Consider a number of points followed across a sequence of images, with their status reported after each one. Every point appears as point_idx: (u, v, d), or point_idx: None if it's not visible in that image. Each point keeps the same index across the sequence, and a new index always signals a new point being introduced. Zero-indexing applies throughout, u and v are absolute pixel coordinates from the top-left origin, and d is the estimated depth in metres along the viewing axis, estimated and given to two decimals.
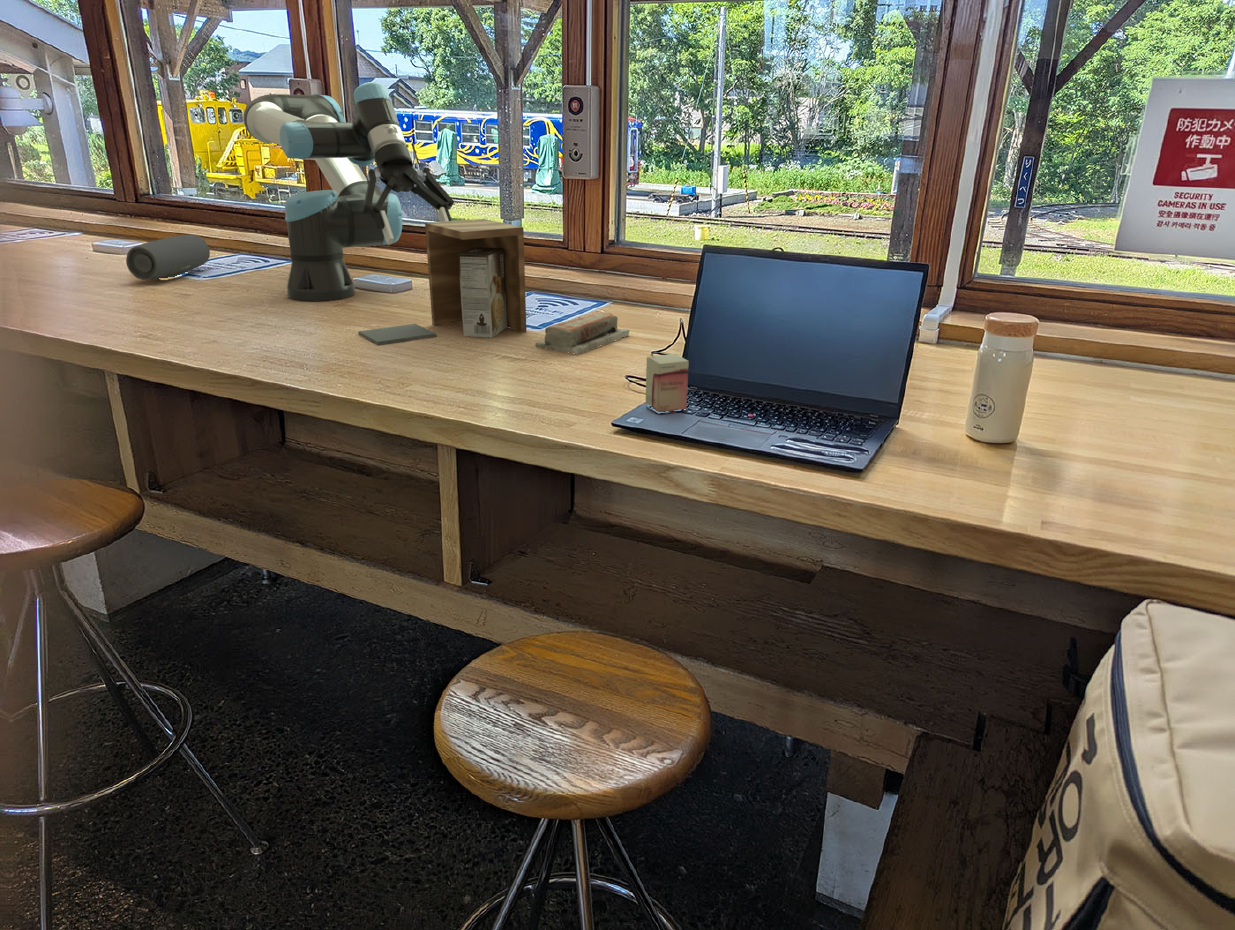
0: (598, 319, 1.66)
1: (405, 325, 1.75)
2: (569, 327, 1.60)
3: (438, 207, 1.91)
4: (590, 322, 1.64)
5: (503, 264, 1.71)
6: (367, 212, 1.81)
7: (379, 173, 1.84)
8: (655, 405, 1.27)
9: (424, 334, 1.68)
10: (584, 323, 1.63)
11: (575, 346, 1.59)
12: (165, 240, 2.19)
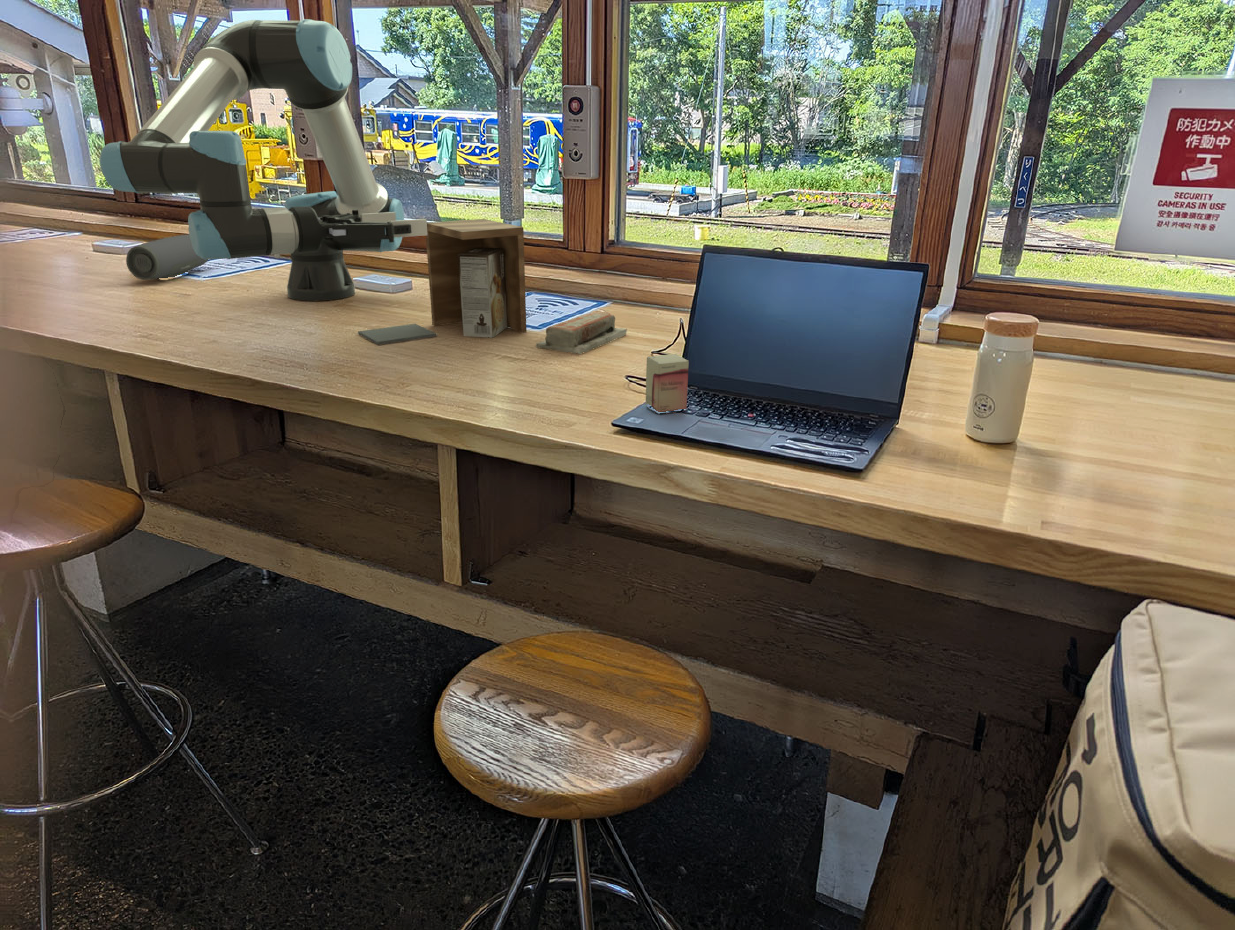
0: (597, 319, 1.66)
1: (405, 325, 1.75)
2: (570, 327, 1.60)
3: None
4: (590, 322, 1.64)
5: (503, 264, 1.71)
6: None
7: None
8: (655, 405, 1.27)
9: (424, 334, 1.68)
10: (584, 323, 1.63)
11: (577, 346, 1.59)
12: (165, 240, 2.19)
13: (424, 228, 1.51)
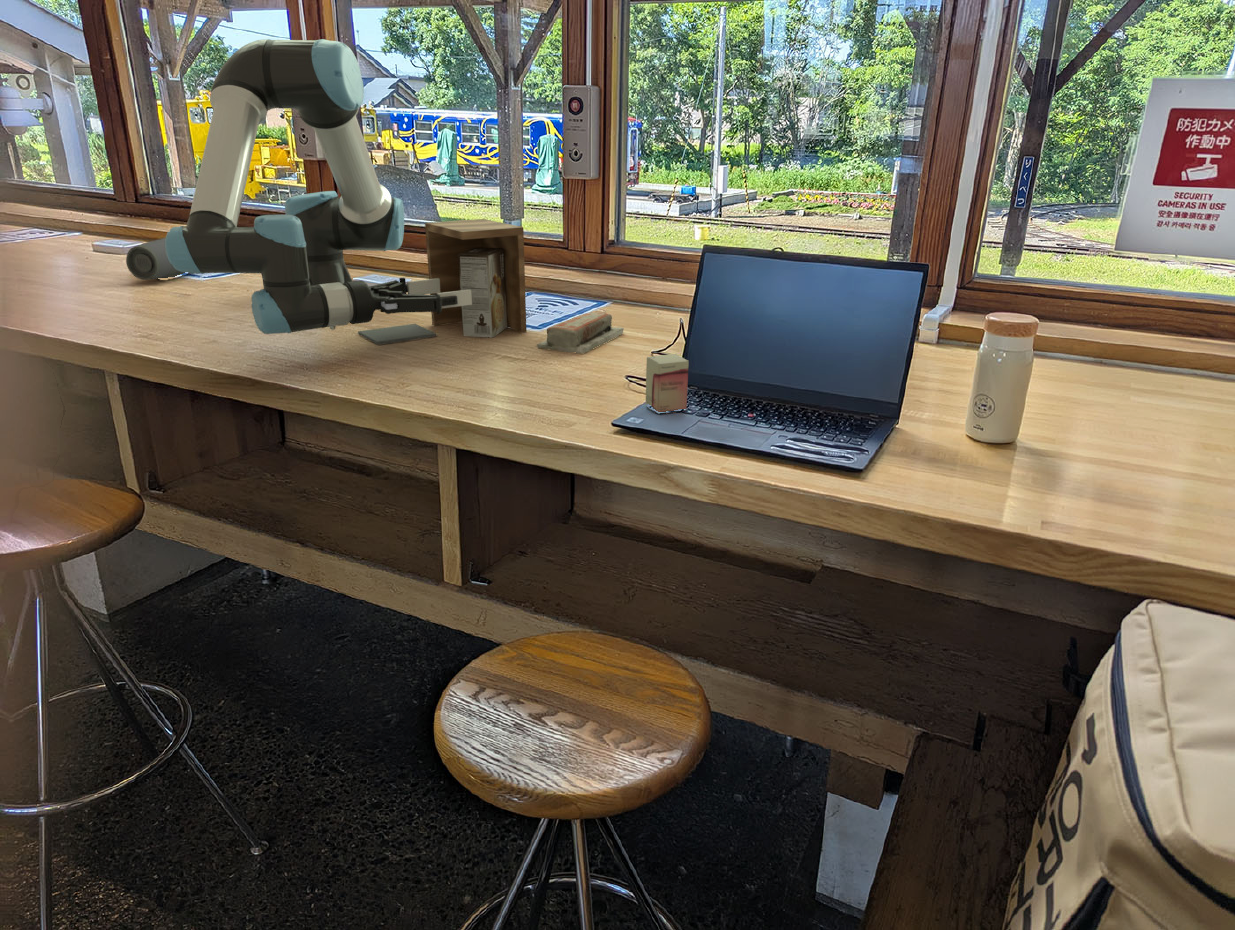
0: (596, 318, 1.67)
1: (405, 325, 1.75)
2: (571, 327, 1.60)
3: None
4: (589, 321, 1.64)
5: (503, 264, 1.71)
6: None
7: None
8: (655, 405, 1.27)
9: (424, 334, 1.68)
10: (584, 322, 1.63)
11: (579, 346, 1.59)
12: None
13: (469, 298, 1.60)
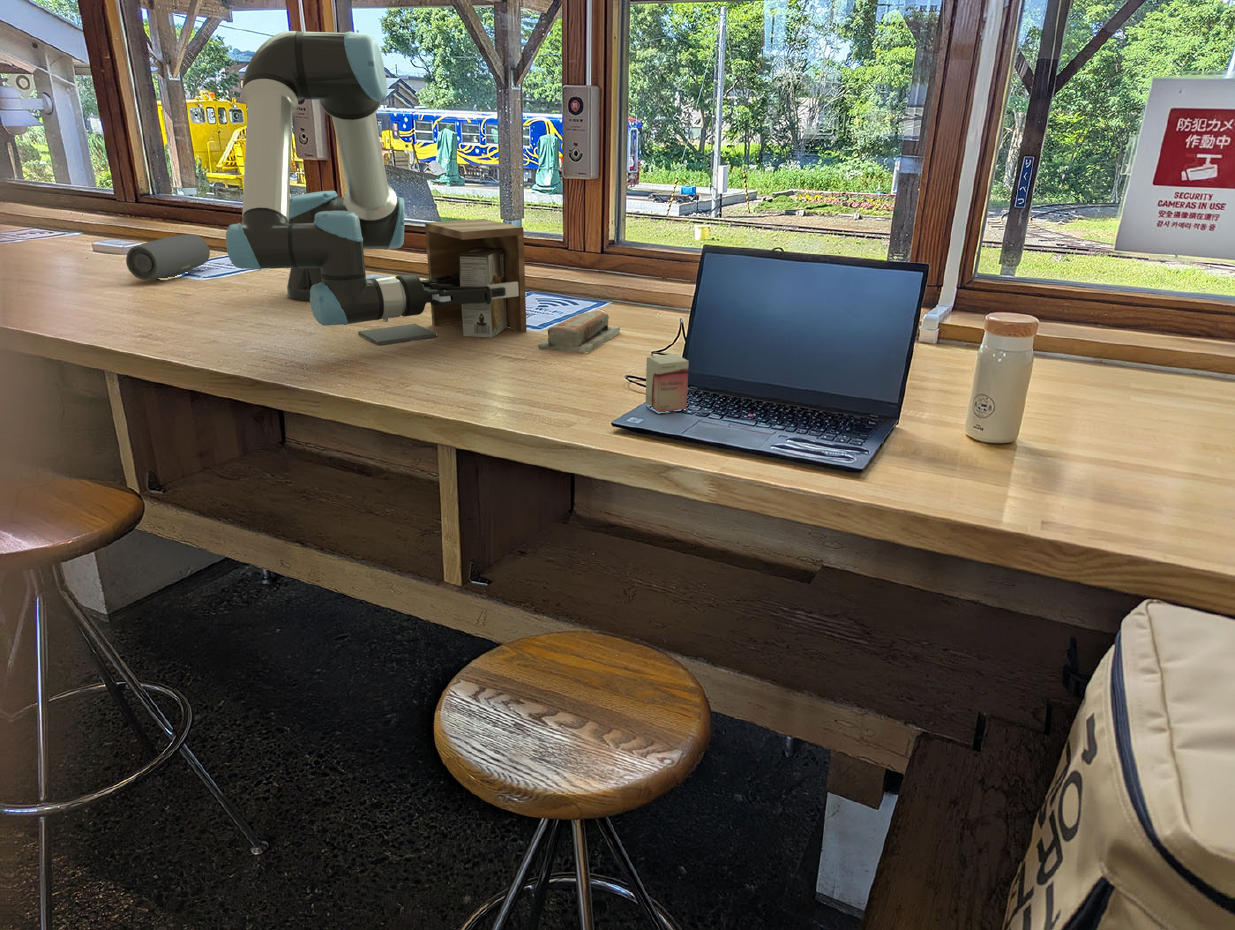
0: (594, 318, 1.67)
1: (405, 325, 1.75)
2: (573, 327, 1.60)
3: None
4: (589, 321, 1.65)
5: (503, 264, 1.71)
6: None
7: None
8: (655, 405, 1.27)
9: (424, 334, 1.68)
10: (584, 322, 1.64)
11: (581, 345, 1.60)
12: (165, 240, 2.19)
13: (516, 290, 1.68)
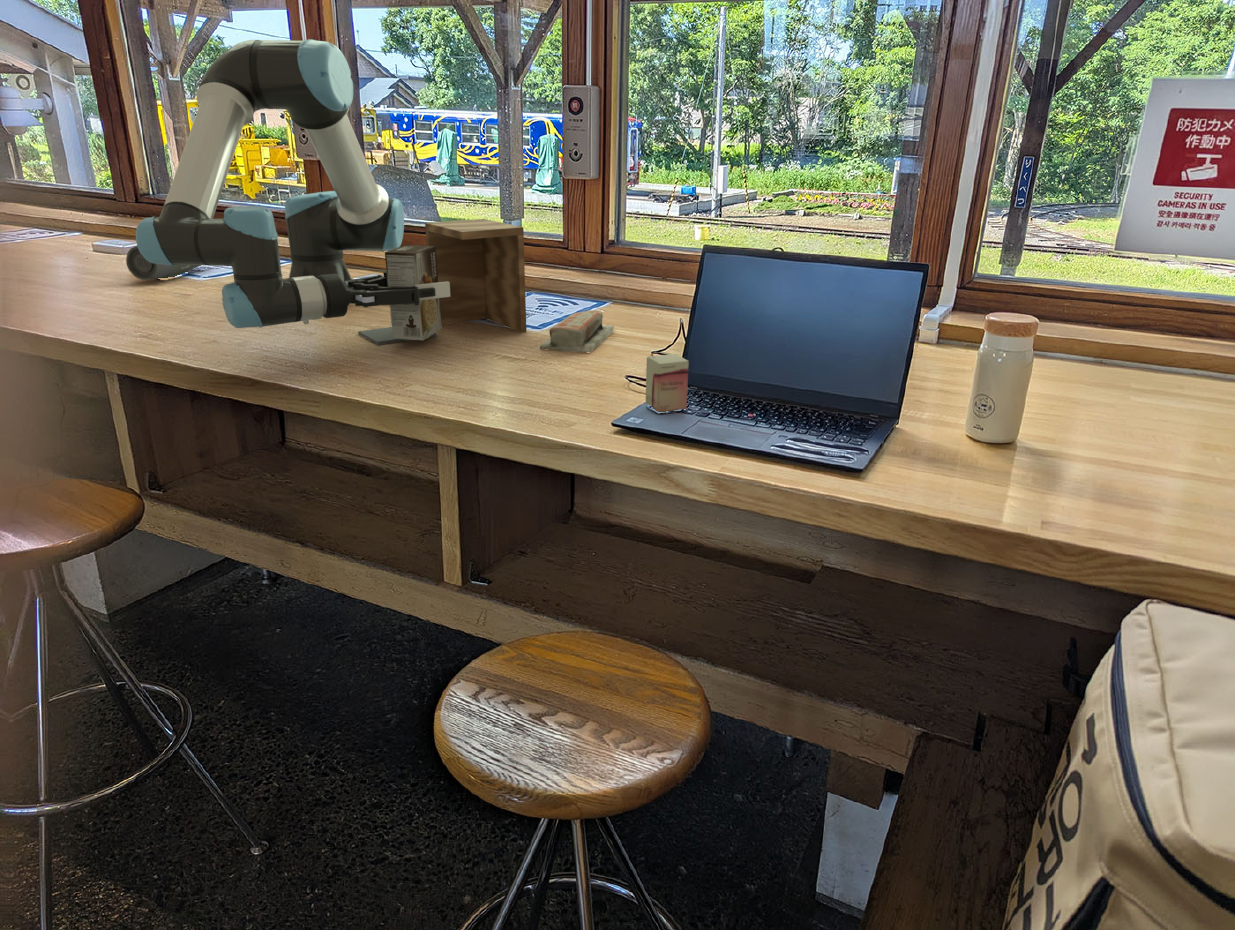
0: (591, 317, 1.68)
1: None
2: (575, 327, 1.60)
3: None
4: (588, 320, 1.65)
5: (435, 263, 1.62)
6: None
7: None
8: (655, 405, 1.27)
9: None
10: (584, 322, 1.64)
11: (584, 345, 1.60)
12: None
13: (447, 290, 1.59)
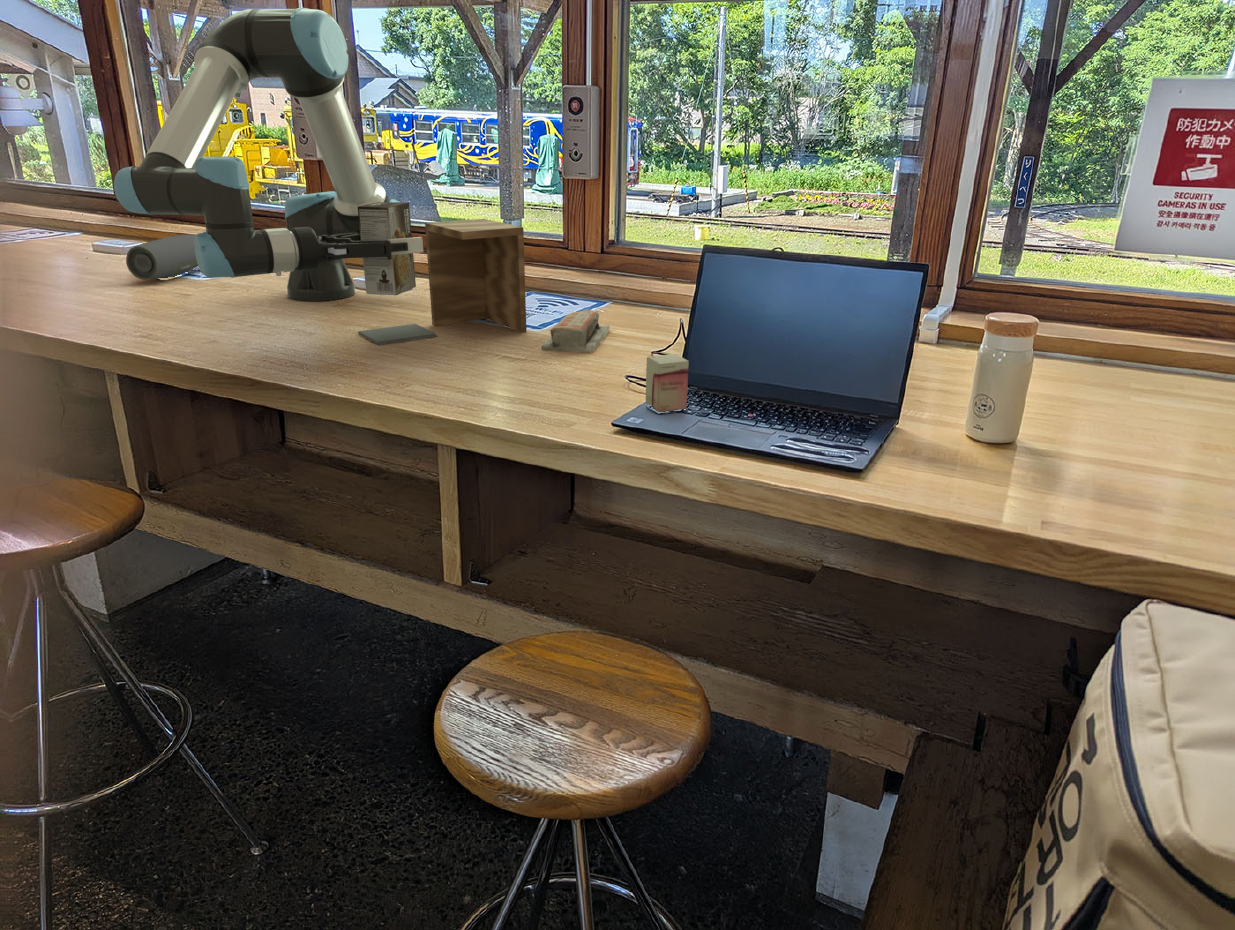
0: (589, 316, 1.68)
1: (405, 325, 1.75)
2: (576, 326, 1.60)
3: None
4: (587, 320, 1.65)
5: (408, 219, 1.64)
6: None
7: None
8: (655, 405, 1.27)
9: (424, 334, 1.68)
10: (583, 321, 1.64)
11: (586, 344, 1.60)
12: (165, 240, 2.19)
13: (420, 245, 1.61)
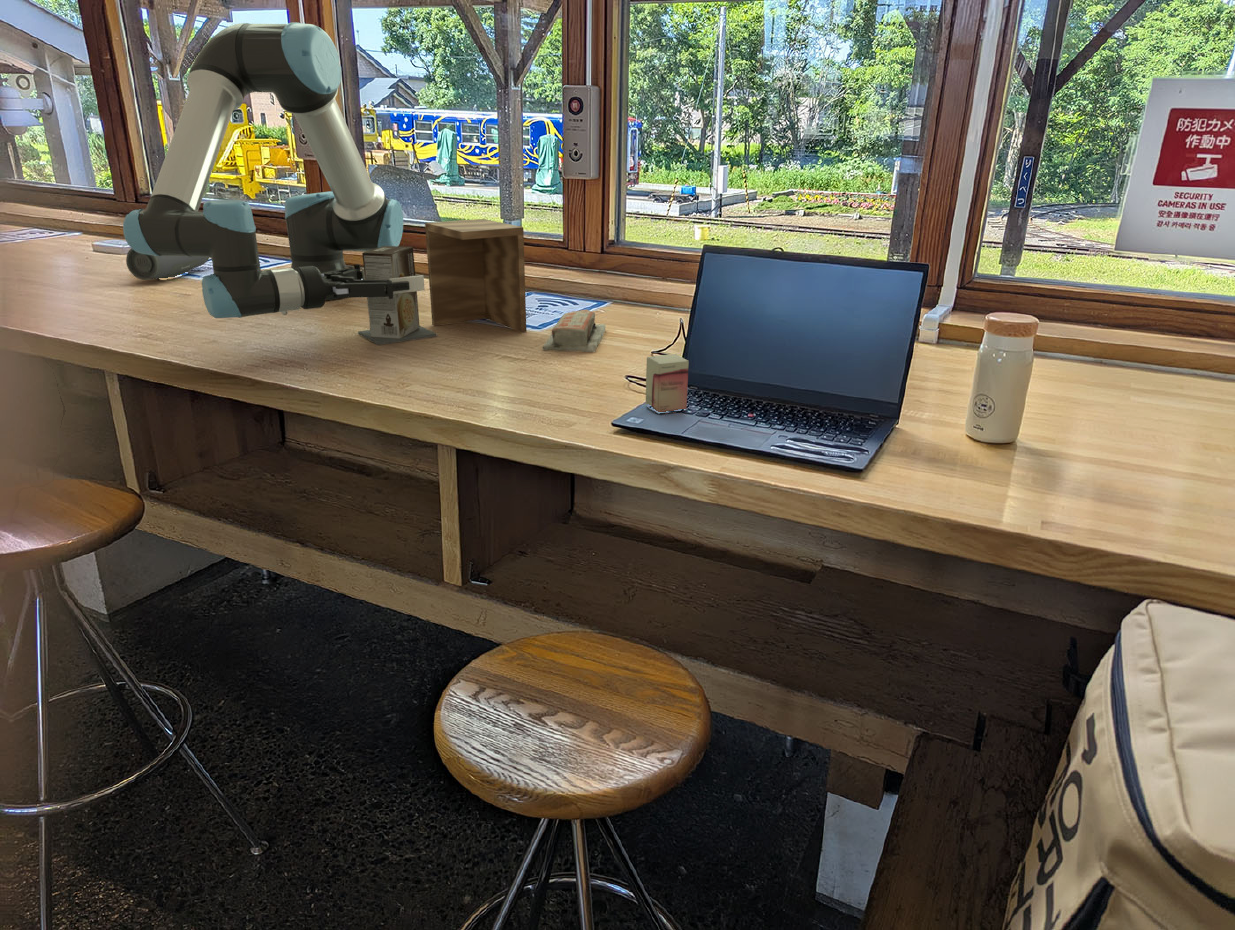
0: (587, 316, 1.68)
1: None
2: (577, 326, 1.61)
3: None
4: (586, 320, 1.66)
5: (412, 263, 1.67)
6: None
7: None
8: (655, 405, 1.27)
9: (424, 334, 1.68)
10: (583, 321, 1.64)
11: (588, 344, 1.60)
12: None
13: (421, 284, 1.62)
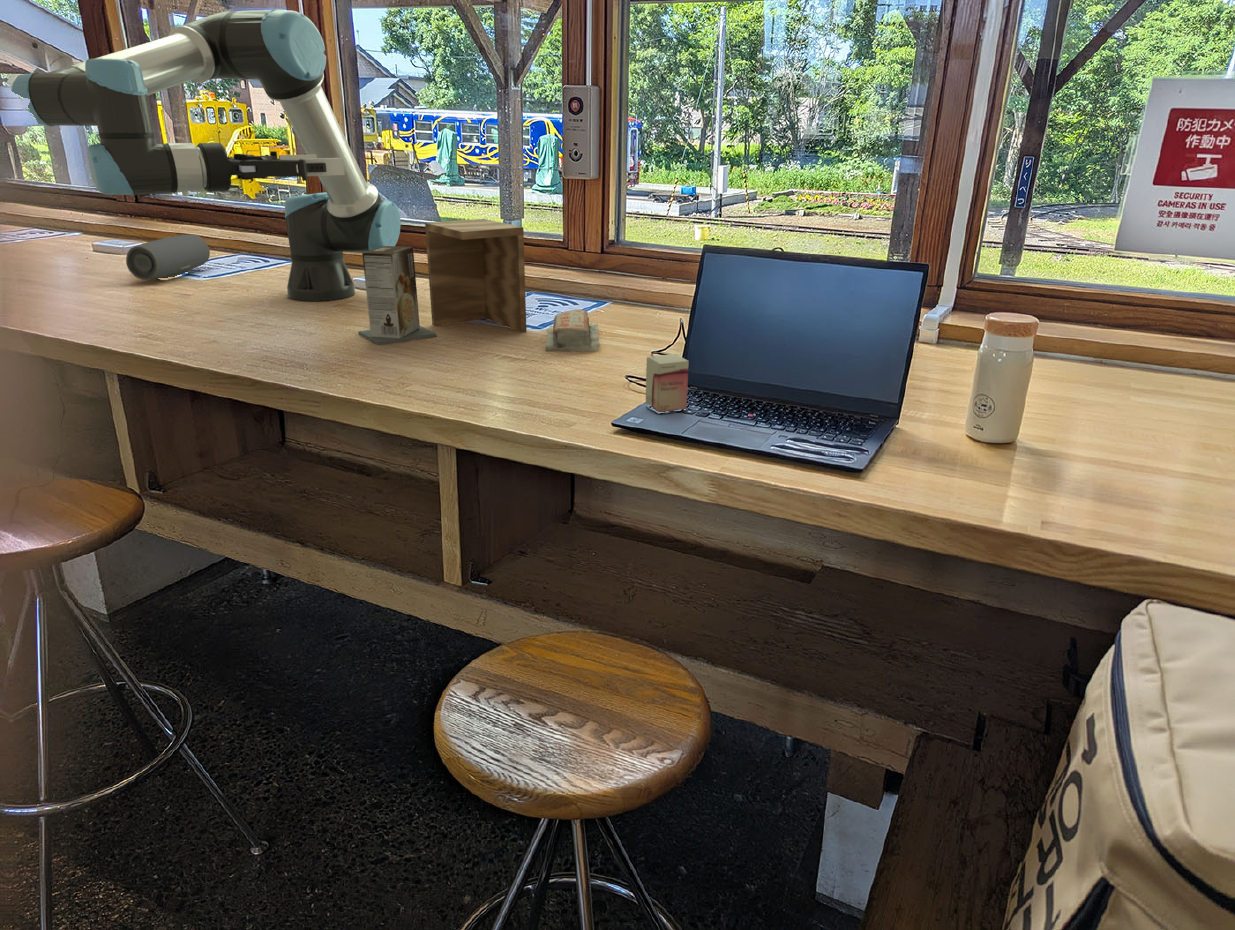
0: (584, 316, 1.69)
1: None
2: (579, 326, 1.61)
3: None
4: (584, 319, 1.66)
5: (412, 263, 1.67)
6: None
7: None
8: (655, 405, 1.27)
9: (424, 334, 1.68)
10: (582, 321, 1.65)
11: (591, 343, 1.61)
12: (165, 240, 2.19)
13: (341, 167, 1.47)
